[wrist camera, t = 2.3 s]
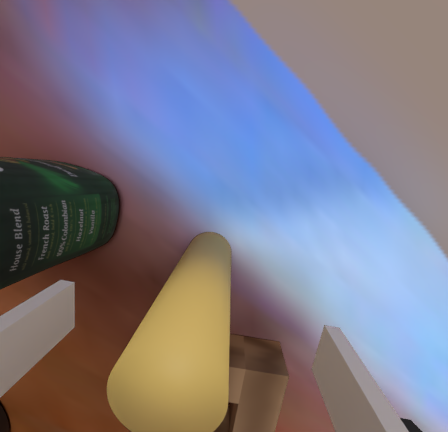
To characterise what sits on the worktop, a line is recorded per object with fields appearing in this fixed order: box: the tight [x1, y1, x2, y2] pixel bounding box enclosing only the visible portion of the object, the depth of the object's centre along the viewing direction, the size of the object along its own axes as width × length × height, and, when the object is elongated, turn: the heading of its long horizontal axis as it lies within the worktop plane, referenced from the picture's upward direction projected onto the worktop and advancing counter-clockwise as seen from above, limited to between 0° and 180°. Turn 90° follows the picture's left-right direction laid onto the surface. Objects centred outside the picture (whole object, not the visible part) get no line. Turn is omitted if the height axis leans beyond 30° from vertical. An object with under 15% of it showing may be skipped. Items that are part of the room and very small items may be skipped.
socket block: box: [213, 334, 289, 432], centre depth 22 cm, size 14×14×4 cm
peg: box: [107, 232, 231, 432], centre depth 14 cm, size 4×4×14 cm
